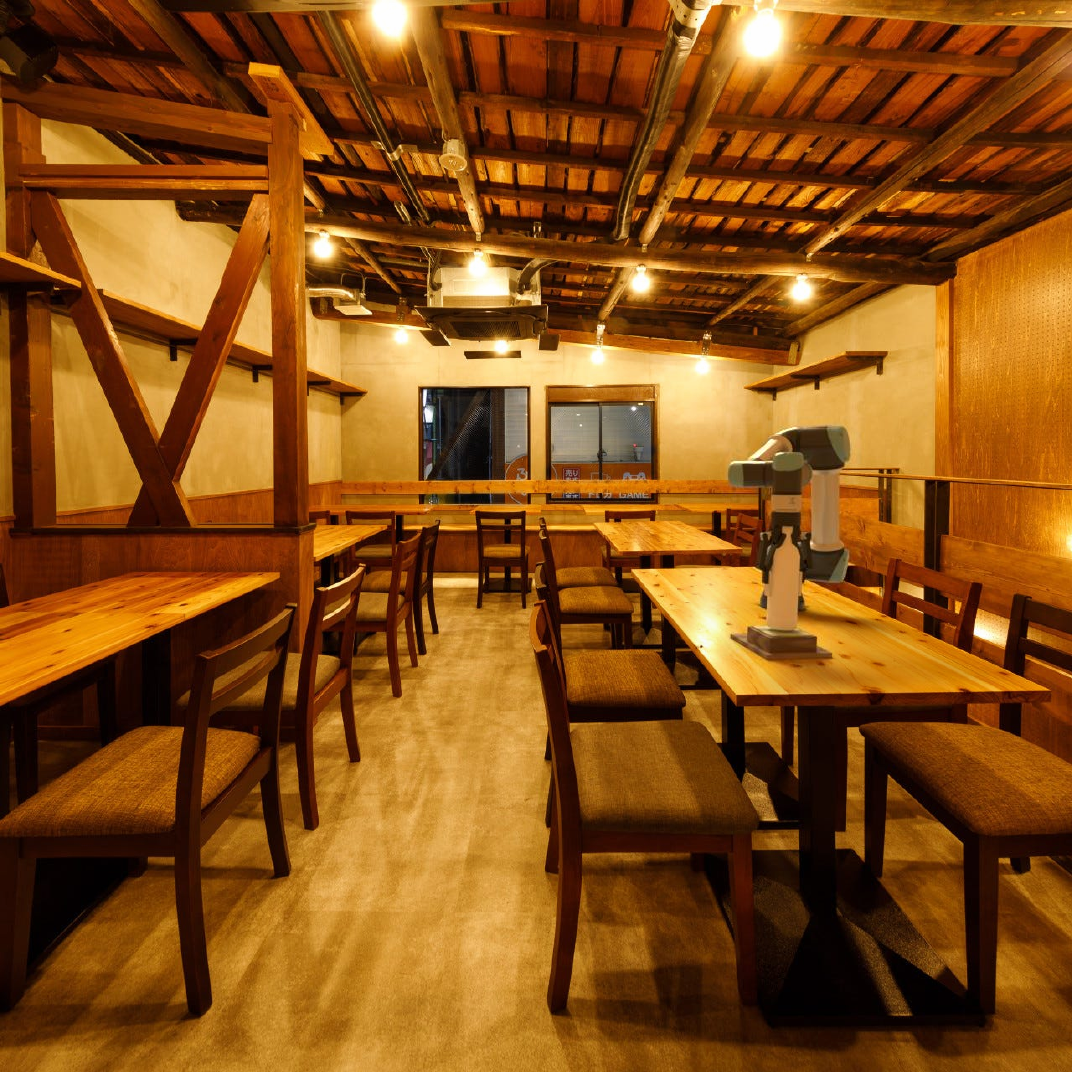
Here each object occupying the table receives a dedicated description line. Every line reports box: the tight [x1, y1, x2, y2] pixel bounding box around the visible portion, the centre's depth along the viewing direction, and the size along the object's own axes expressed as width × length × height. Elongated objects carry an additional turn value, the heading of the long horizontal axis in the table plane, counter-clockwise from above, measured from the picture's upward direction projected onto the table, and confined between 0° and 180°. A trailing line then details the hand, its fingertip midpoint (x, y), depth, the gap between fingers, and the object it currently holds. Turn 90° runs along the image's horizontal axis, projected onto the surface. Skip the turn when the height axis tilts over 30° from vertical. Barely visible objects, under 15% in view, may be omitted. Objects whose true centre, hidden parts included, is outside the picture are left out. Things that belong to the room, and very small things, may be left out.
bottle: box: [765, 526, 800, 630], centre depth 169 cm, size 8×8×30 cm
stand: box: [729, 625, 833, 661], centre depth 174 cm, size 22×18×6 cm
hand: (782, 595), depth 170 cm, fingers closed on bottle, 8 cm apart
